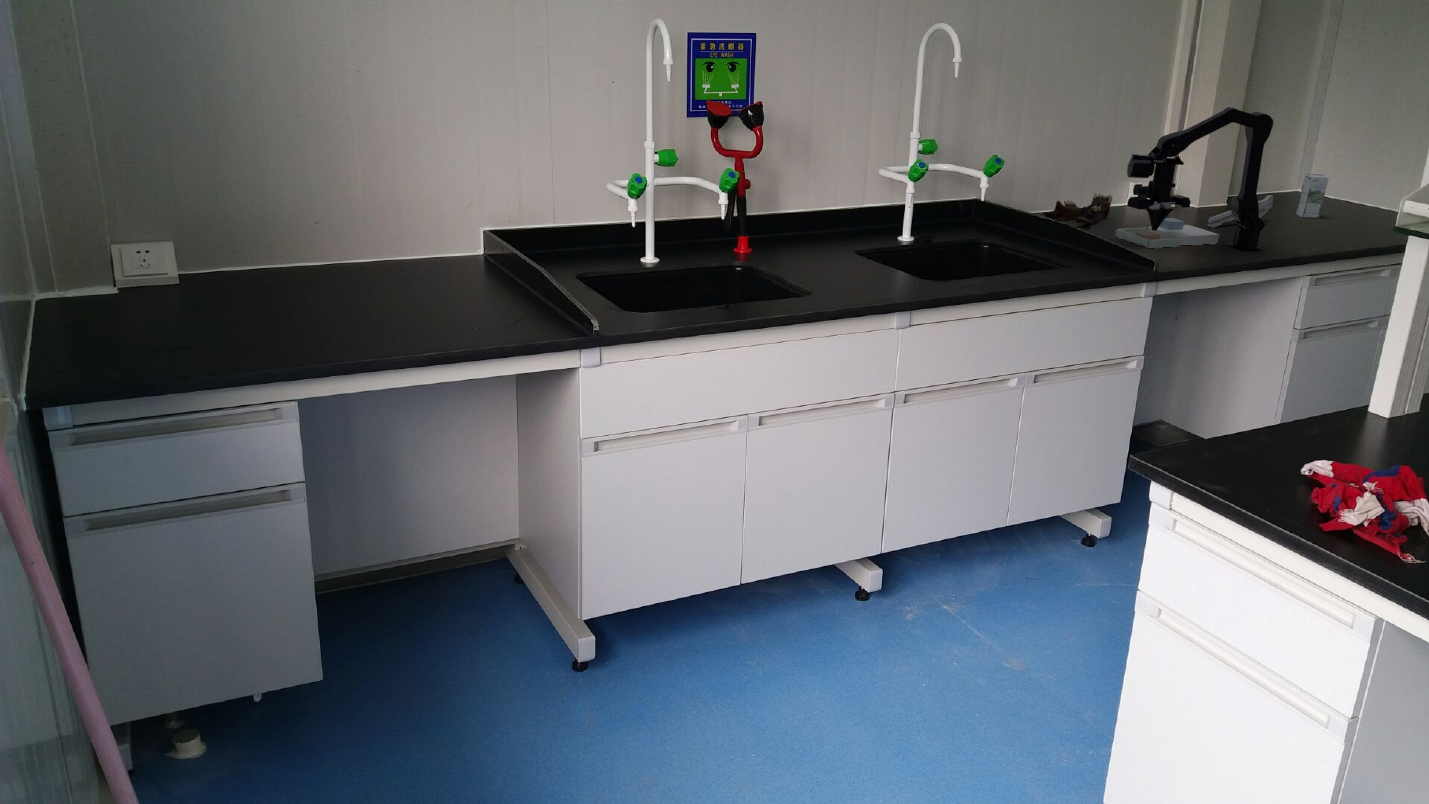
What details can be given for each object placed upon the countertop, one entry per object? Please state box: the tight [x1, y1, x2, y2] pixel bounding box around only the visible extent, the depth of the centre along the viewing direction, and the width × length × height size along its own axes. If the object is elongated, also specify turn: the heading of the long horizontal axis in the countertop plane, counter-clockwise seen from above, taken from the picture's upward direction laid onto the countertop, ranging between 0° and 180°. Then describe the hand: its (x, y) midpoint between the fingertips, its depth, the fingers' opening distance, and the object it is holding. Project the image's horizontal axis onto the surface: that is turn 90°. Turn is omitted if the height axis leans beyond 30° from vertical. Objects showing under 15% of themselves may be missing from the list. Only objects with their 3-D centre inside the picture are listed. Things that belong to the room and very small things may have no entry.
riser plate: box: [1147, 224, 1220, 247], centre depth 337 cm, size 14×15×3 cm
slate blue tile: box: [1159, 217, 1185, 230], centre depth 339 cm, size 5×5×2 cm
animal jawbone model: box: [1042, 192, 1113, 229], centre depth 357 cm, size 17×25×10 cm
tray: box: [1114, 227, 1179, 249], centre depth 333 cm, size 16×11×2 cm
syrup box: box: [1295, 173, 1330, 219], centre depth 374 cm, size 6×6×14 cm
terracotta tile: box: [1136, 230, 1160, 240], centre depth 331 cm, size 5×5×2 cm
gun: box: [1207, 194, 1274, 229], centre depth 361 cm, size 2×30×8 cm, turn 119°
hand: (1154, 230), depth 330 cm, fingers closed
